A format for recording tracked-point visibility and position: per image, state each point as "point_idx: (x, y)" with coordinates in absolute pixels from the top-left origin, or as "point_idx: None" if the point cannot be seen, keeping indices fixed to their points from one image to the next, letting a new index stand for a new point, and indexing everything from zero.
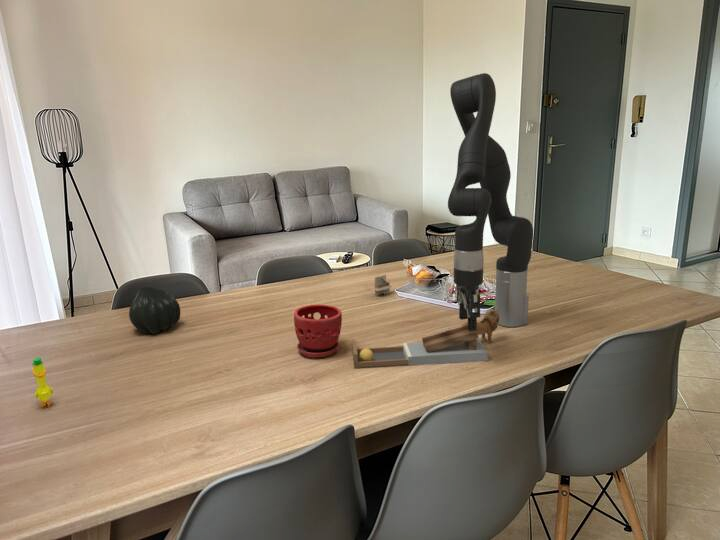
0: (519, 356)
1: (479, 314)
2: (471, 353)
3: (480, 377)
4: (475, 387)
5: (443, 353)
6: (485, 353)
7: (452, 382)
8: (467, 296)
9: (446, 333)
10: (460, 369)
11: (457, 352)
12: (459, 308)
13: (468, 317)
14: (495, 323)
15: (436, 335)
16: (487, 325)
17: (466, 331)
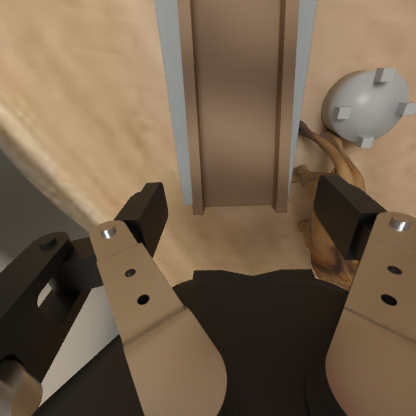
0: (208, 260)
1: (53, 294)
2: (177, 158)
3: (82, 152)
4: (17, 125)
5: (173, 43)
6: (184, 198)
7: (24, 55)
8: (63, 401)
9: (280, 77)
10: (125, 103)
11: (183, 109)
12: (362, 203)
13: (107, 222)
14: (320, 278)
15: (285, 9)
16: (319, 254)
17: (260, 176)
